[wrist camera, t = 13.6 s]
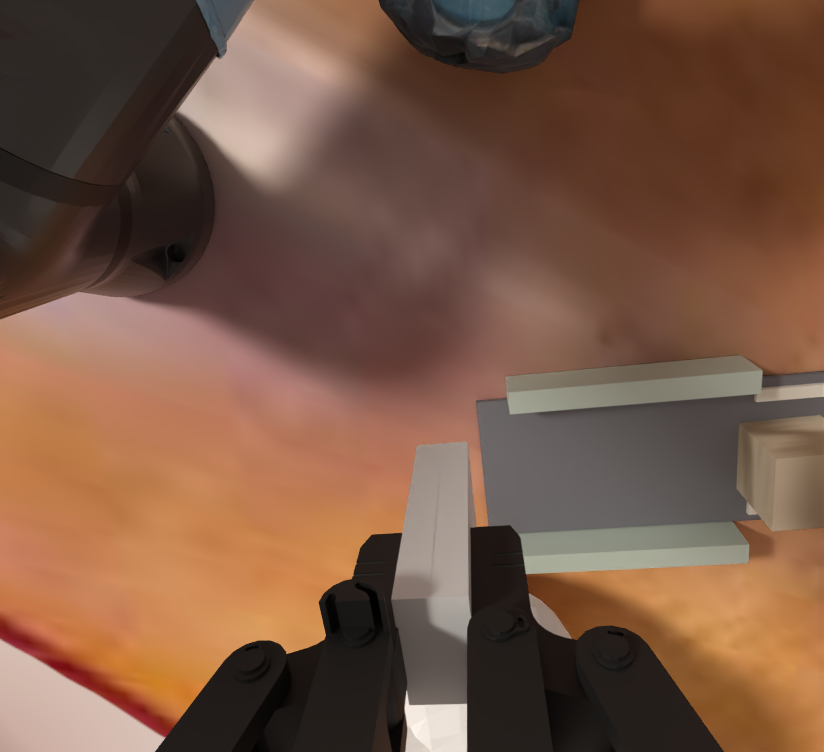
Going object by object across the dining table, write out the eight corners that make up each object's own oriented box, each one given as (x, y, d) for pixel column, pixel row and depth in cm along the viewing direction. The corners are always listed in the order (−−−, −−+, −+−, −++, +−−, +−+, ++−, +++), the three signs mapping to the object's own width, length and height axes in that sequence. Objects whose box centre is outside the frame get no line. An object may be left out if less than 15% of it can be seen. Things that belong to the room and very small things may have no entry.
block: (736, 488, 49) (771, 531, 43) (738, 422, 47) (776, 458, 41) (814, 482, 48) (861, 524, 42) (820, 414, 46) (869, 450, 40)
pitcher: (467, 494, 51) (468, 774, 28) (615, 612, 54) (729, 954, 31) (339, 616, 57) (251, 930, 34) (479, 716, 60) (488, 1069, 37)
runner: (489, 532, 53) (489, 537, 52) (476, 400, 48) (476, 404, 48) (851, 511, 49) (857, 516, 48) (872, 366, 45) (879, 370, 44)
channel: (519, 548, 53) (522, 574, 50) (505, 376, 47) (508, 392, 44) (730, 537, 51) (748, 563, 47) (741, 355, 45) (762, 370, 42)
